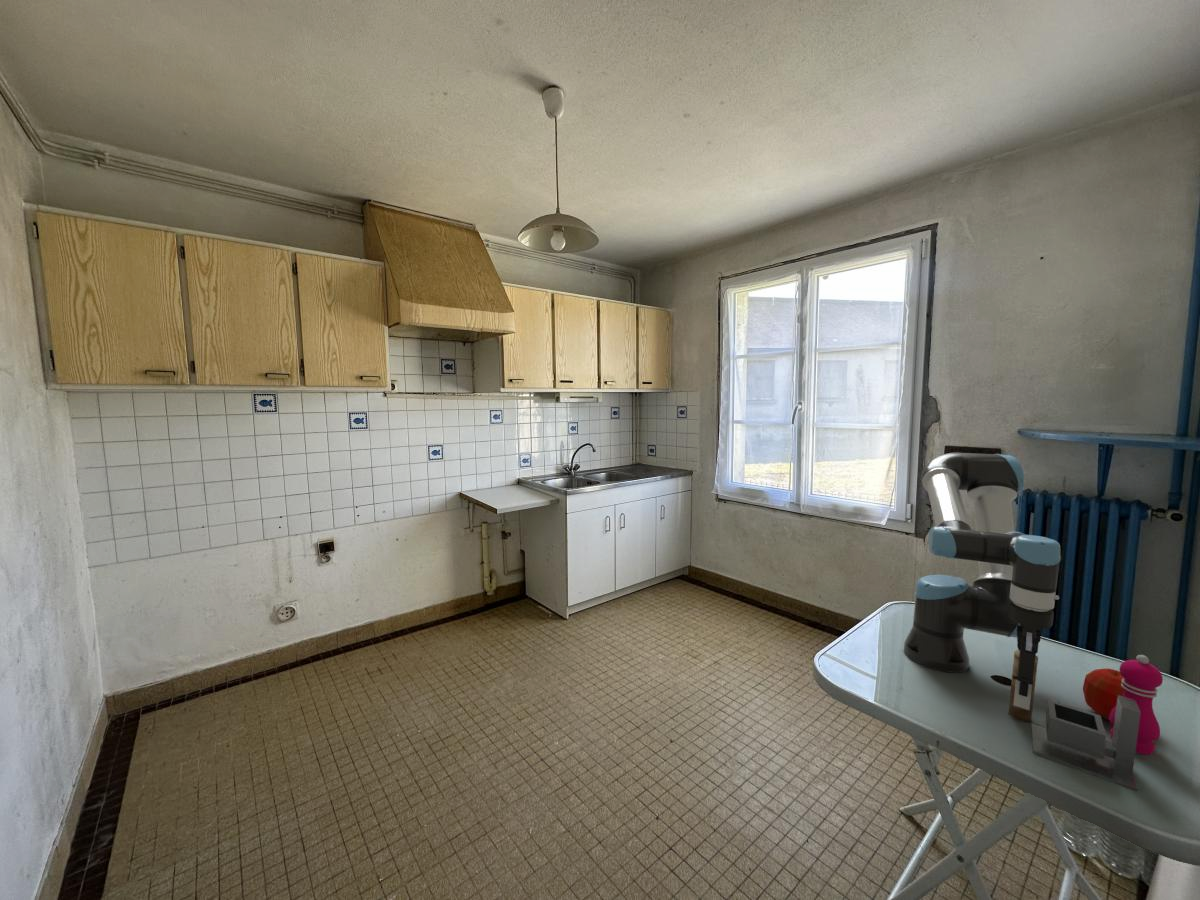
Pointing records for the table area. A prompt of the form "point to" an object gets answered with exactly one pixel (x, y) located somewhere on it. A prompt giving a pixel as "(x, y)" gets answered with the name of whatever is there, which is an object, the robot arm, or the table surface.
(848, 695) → the table surface
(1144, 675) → the pepper mill
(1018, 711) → the brown cylinder
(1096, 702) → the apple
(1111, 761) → the bracket
